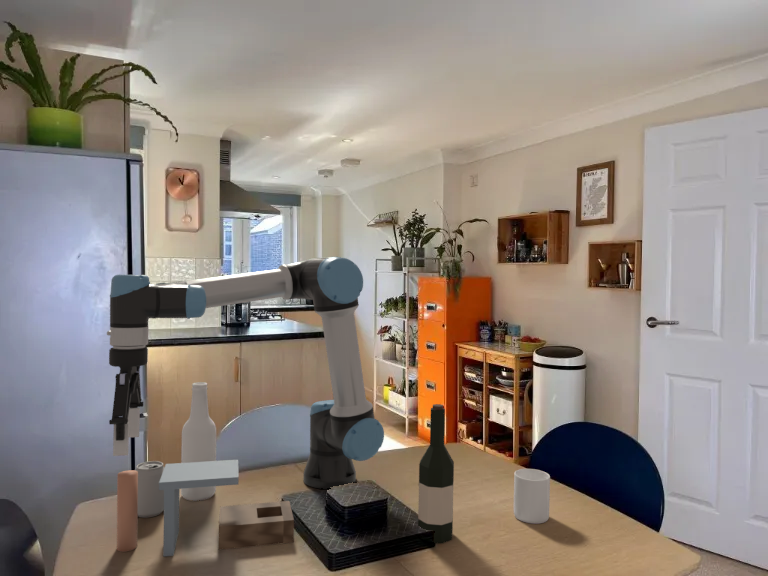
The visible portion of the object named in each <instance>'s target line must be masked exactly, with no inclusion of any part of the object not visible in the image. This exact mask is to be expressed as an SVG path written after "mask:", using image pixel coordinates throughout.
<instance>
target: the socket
mask: <svg viewBox="0 0 768 576" xmlns="http://www.w3.org/2000/svg"><path fill="white" fill-rule="evenodd" d="M294 520H295V519H294V514H293V510H292V507H291V502H290V501H289V500H282V501H271V502H258V503H257V502H256V503H248V504H245V503H244V504H235V505H234V504H233V505H224V506H223V505H222V506H219V518H218V545H217V546H218V547H217V548H218V549H217V551H221V550H229V549H230V550H231V549H240V548H251V547H252V548H253V547H262V546H271V545H281V544H290V543H294V539H295V538H294V535H295V528H294V527H295V521H294Z"/></svg>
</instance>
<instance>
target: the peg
mask: <svg viewBox="0 0 768 576" xmlns="http://www.w3.org/2000/svg"><path fill="white" fill-rule="evenodd" d="M135 470H136V469H134V470H132V469H131V470H129V469H128V470H122V471H120V472H118V473H117V477H116V478H117V480H116V481H117V488H116V489H117V490H116V491H117V493H116V494H117V496H116V498H117V499H116V501H117V503H116V505H117V507H116V509H117V510H116V550H117V551H118V552H121V553H124V552H130V551H134V550H135V549H137V547H138V526H139V525H138V521H139V519H138V471H135Z"/></svg>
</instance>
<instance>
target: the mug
mask: <svg viewBox="0 0 768 576" xmlns="http://www.w3.org/2000/svg"><path fill="white" fill-rule="evenodd" d="M513 474H514V477H513V478H514V479H513V480H514V481H513V515H514V517H515V518H516V519H517V520H519V521H521V522H524V523H527V524H535V525H537V524H543V523H547V521H548V520H549V518H550V502H551V501H550V500H551V499H550V497H551V496H550V491H551V476H550V475H551V474H549V473H548V472H545V471H543V470H540V469H535V468H520V469H518V470H517V469H516V470H515V471H514V473H513Z"/></svg>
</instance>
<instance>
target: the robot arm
mask: <svg viewBox="0 0 768 576" xmlns="http://www.w3.org/2000/svg"><path fill="white" fill-rule="evenodd" d="M363 289H364V277H363V273H362V271H361V269H360V267H359V266H358V265H357V264H356V263H355V262H353V261H352V260H351V259H349V258H347V257H341V256H328V257H327V256H326V257H312V258H310V259H305V260H300V261H297V262H293V263H287V264H281V265H279V267H278V268H277V269H270V270H269V269H268V270H261V271H252V272H245V273H236V274H229V275H222V276H213V277H207V278H206V277H205V278H198V279H197V278H196V279H189V280H188V279H187V280H183V281H173V282H172V281H171V282H158V283H156V284H155V283H151V281H150V277H149V275H146V274H115V275H114V276H112V279H111V285H110V294H109V330H108V331H107V332H106V335H107V336H109V345H110V346H111V347H110V348H109V350H108V351H109V352H108V353H109V354H108V355H109V356H108V358H109V359H108V364H109V366H112V367H114V368H117V367H118V368H119V373H116V375H115V385H114V386H115V387H114V397H113V404H112V405H113V406H112V414H111V415H112V416H111V419H109V420H108V421H109V422H108V423H109V425H113V438H112V440H113V443H112V447H113V449H112V456H113V457H119V456H129V441H130V440H129V439H130V438H140V420H141V419H140V417H141V415H140V412H141V410H140V409H141V408H143V407H144V401H142V393H141V392H142V391H141V379H140V378H141V376H140V372H141V371H140V368H141V367H142V366H145V365H147V364H148V363H149V362H148V357H149V355H148V354H149V350H148V349H149V348H147V345H148V344H149V319H187V320H188V319H189V320H190V319H193V318H194V319H195V318H202V317H203V315H205V312H206V309H211V308H216V307H223V306H228V305H229V306H230V305H236V304H243V303H248V302H249V303H251V302H256V301H264V300H271V299H276V298H282V299H283V300H286V301H289V300H296V299H302V300H311V301H312V302H313V308H314V312H315V313H316V314H317V315H318V316H320V318H321V322H322V329H323V336H324V343H325V350H326V357H327V363H328V369H329V377H330V378H329V379H330V384H331V390H332V391H331V392H332V397H333V399H328V400H327V399H326V400H319V401H316V402H314V403H312V405H311V406H310V412H309V413H310V414H309V417H310V423H309V425H310V426H309V427H310V428H309V431H310V432H309V455H308V459H307V461H306V464H305V467H304V469H303V470H304V471H303V478H302V479H303V483H304V484H305V485H307V486H309V487H311V488H315V489H321V488H323V489H321V490H328V489H327V488H330V487H333V486H339V485H344V484H348V483H352V482H354V483H355V482H356V480H357V479H356V478H357V473H356V472H357V471H356V468H355V465H354V461H357V462H364V461H367V460H370V459H372V458H373V457H374V456H375V455H376V454H377V453H378V452H379V451H380V448H382V445H383V443H384V438H385V431H384V430H385V429H384V426H383V425H382V423H381V422H380V421H379V420H378V419H376V418H375V414H374V406H373V403H372V402H371V401H369V400H368V399H367V398H366V390H365V389H366V388H365V382H364V376H363V375H364V374H363V366H362V361H361V354H360V347H359V340H358V338H359V337H358V332H357V331H358V330H357V326H356V319H355V318H356V317H355V311H356V310H357V309H358V307H359V298H358V297H360V295H361V292H363Z"/></svg>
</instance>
